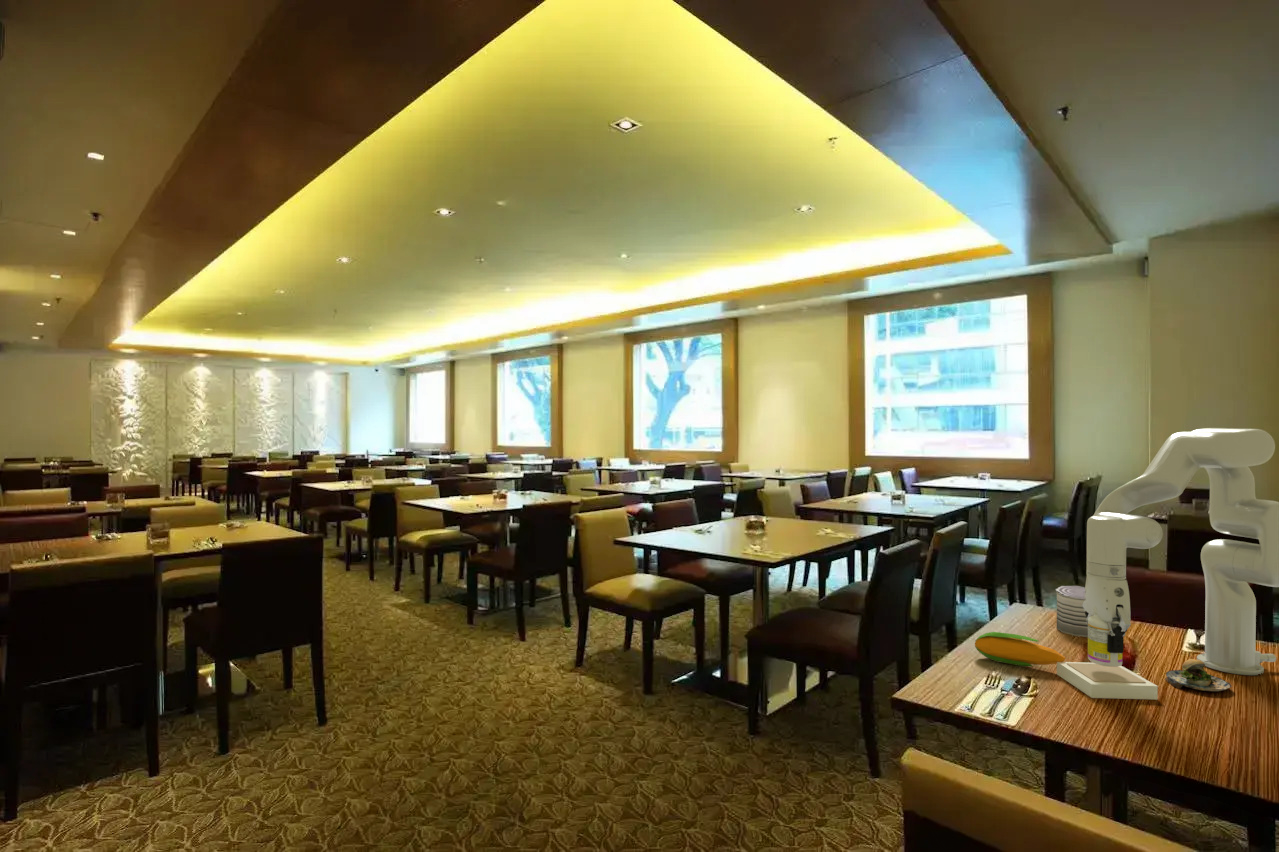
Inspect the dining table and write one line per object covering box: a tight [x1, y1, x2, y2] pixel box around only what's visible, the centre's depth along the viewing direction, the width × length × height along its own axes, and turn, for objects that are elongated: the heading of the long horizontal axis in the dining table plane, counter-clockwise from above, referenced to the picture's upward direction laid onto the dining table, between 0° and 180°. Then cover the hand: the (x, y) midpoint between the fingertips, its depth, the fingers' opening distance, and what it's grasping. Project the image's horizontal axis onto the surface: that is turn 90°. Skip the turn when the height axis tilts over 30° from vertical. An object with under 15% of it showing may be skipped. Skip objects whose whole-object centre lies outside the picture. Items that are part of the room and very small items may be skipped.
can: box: [1055, 585, 1088, 638], centre depth 198 cm, size 11×11×12 cm
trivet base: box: [1056, 661, 1159, 700], centre depth 157 cm, size 14×14×3 cm
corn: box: [974, 631, 1066, 668], centre depth 171 cm, size 7×8×20 cm
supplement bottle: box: [1087, 607, 1123, 667], centre depth 157 cm, size 7×7×13 cm
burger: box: [1164, 650, 1233, 692], centre depth 158 cm, size 12×12×8 cm
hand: (1105, 646), depth 157 cm, fingers closed on supplement bottle, 6 cm apart
